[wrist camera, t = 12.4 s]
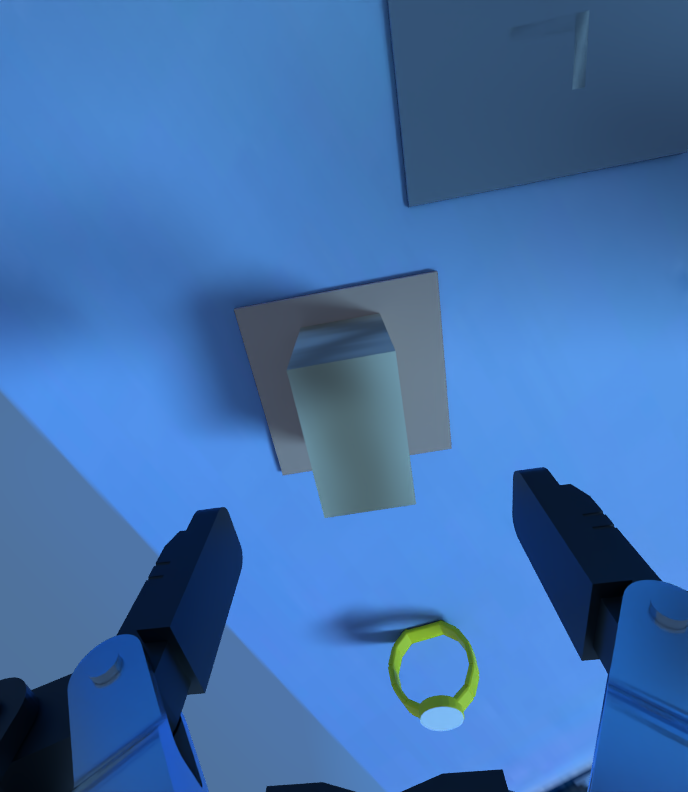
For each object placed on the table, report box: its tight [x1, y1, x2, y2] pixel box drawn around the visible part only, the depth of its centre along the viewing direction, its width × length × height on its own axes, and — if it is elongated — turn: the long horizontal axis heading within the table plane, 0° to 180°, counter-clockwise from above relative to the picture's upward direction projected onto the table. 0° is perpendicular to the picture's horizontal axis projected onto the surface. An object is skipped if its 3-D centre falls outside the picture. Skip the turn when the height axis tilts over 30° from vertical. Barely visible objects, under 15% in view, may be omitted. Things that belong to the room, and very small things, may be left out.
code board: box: [387, 0, 688, 207], centre depth 15 cm, size 12×12×1 cm
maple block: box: [287, 313, 416, 518], centre depth 19 cm, size 4×7×6 cm, turn 10°
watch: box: [388, 620, 479, 731], centre depth 27 cm, size 6×3×6 cm, turn 112°
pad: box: [234, 271, 452, 475], centre depth 21 cm, size 10×10×1 cm
